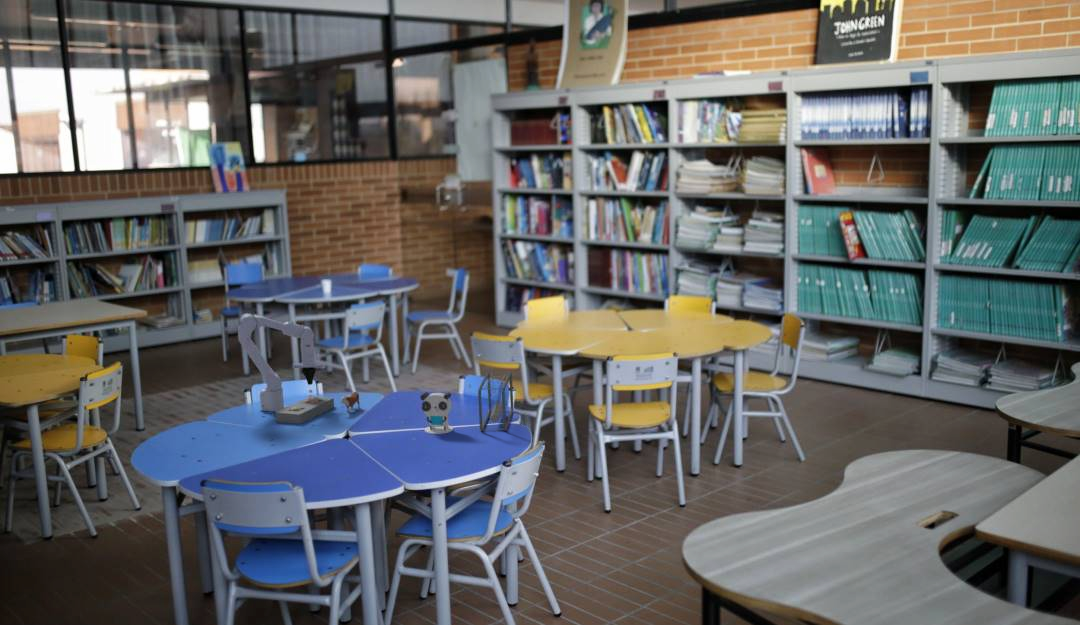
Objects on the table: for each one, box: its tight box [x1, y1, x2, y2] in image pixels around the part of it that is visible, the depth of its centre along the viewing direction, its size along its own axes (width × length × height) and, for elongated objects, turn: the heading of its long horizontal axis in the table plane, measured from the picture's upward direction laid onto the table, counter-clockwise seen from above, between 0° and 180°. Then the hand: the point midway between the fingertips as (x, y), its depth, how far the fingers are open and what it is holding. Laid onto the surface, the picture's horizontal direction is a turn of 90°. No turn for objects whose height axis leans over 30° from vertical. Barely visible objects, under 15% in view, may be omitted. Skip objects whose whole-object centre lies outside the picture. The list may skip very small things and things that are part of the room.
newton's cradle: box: [477, 371, 514, 432], centre depth 390 cm, size 30×10×18 cm, turn 176°
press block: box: [275, 396, 335, 425], centre depth 412 cm, size 12×26×4 cm, turn 160°
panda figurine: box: [420, 391, 454, 435], centre depth 382 cm, size 12×11×15 cm
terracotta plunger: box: [308, 396, 319, 403], centre depth 417 cm, size 4×4×4 cm
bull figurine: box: [339, 391, 360, 414], centre depth 414 cm, size 4×13×8 cm, turn 163°
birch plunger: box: [291, 407, 302, 411], centre depth 406 cm, size 4×4×4 cm
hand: (310, 384), depth 425 cm, fingers closed
